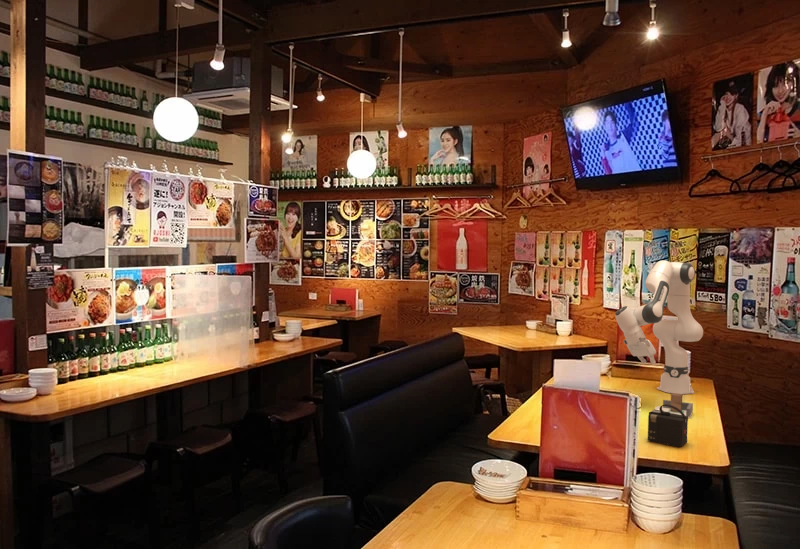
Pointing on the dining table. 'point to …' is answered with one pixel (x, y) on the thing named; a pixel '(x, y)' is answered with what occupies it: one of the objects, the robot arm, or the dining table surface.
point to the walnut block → (676, 401)
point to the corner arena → (686, 409)
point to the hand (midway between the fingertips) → (649, 363)
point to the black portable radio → (667, 427)
